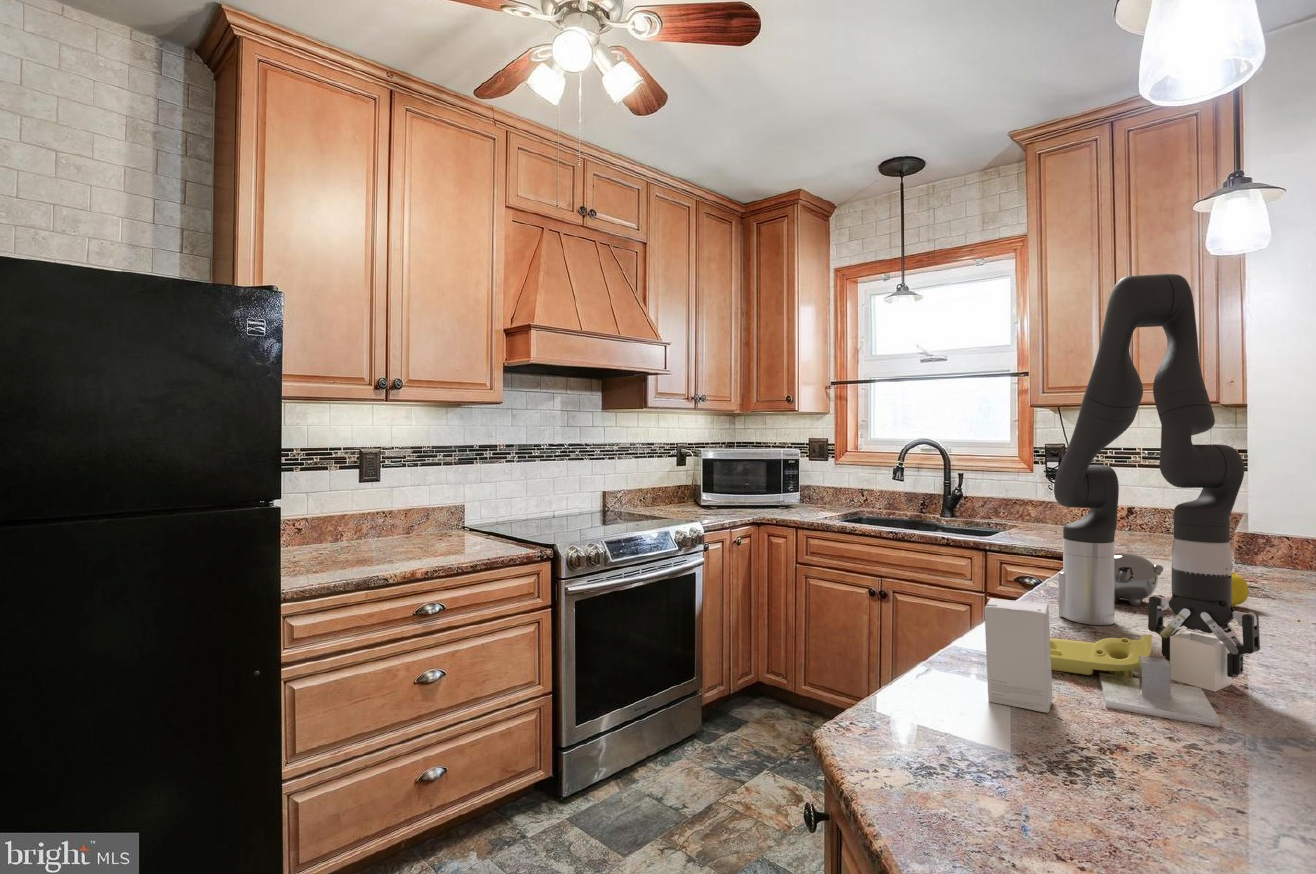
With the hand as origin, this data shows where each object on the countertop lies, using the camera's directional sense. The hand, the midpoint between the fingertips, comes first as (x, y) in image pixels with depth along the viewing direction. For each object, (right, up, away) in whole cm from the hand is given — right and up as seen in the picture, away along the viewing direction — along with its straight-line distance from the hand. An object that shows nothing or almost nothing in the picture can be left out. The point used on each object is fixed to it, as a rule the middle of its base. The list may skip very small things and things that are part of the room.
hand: (1201, 668), depth 106 cm
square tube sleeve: (0, -2, 0) cm, 2 cm away
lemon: (+44, -2, +44) cm, 63 cm away
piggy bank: (+23, -2, +50) cm, 55 cm away
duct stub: (-13, -2, -7) cm, 15 cm away
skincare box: (-34, -3, -7) cm, 35 cm away
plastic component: (-16, -3, +6) cm, 17 cm away
